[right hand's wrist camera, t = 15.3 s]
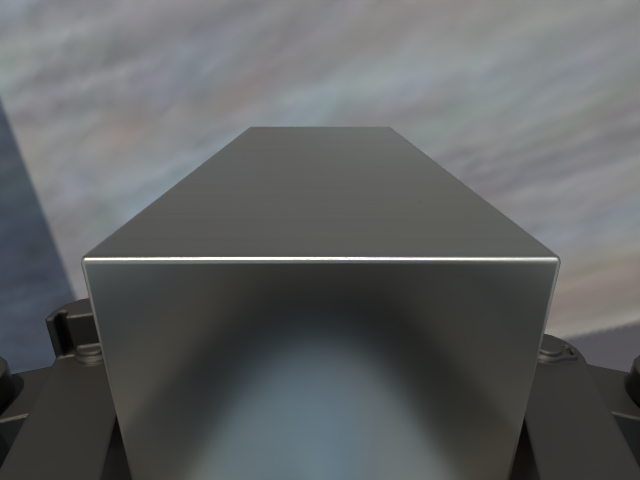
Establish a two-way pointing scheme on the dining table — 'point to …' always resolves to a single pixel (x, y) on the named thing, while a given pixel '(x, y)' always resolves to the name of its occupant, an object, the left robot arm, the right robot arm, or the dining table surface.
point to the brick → (320, 316)
